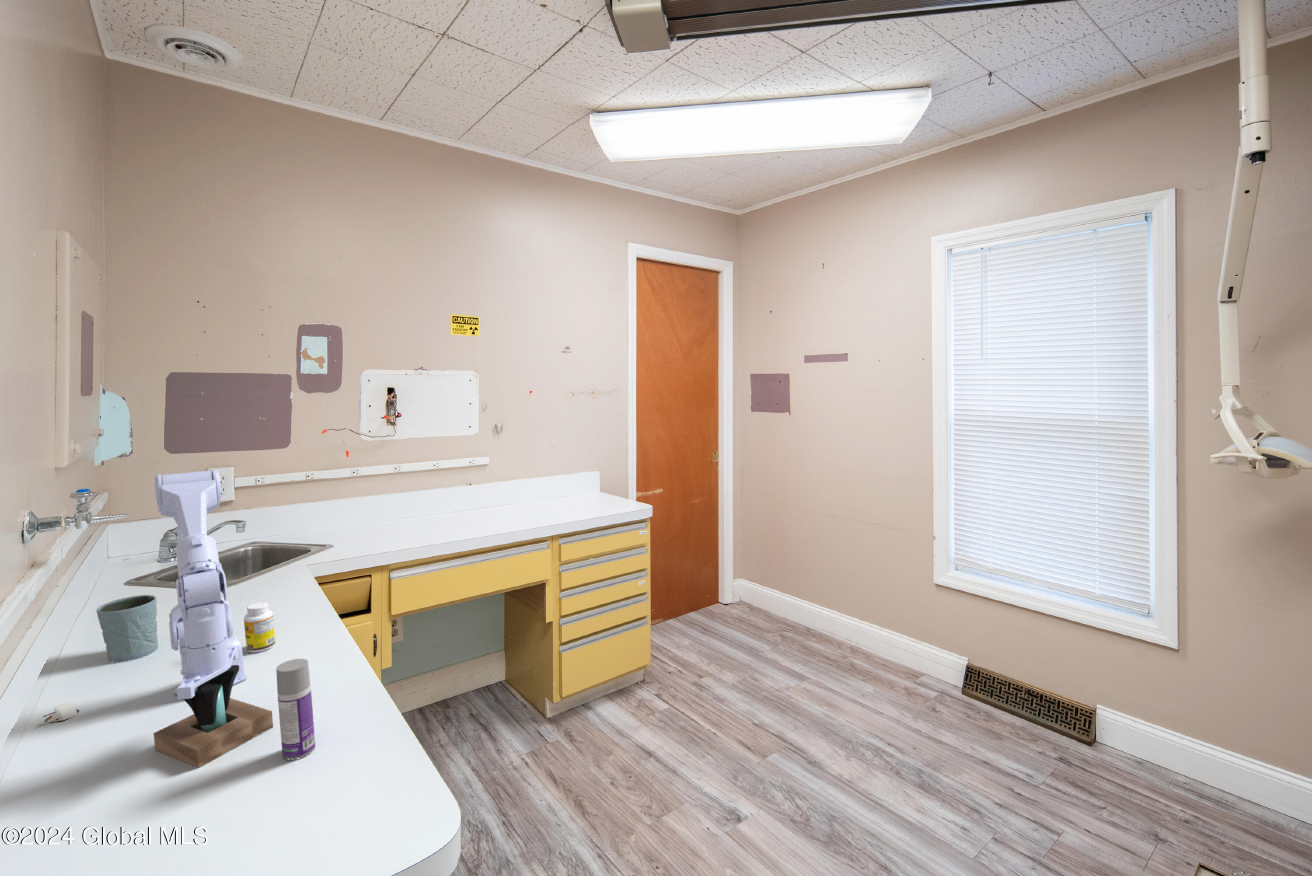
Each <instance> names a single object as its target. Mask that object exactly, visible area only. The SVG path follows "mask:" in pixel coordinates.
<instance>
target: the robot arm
mask: <svg viewBox="0 0 1312 876" xmlns="http://www.w3.org/2000/svg"><path fill="white" fill-rule="evenodd" d="M220 476H221V475H220V473H219V471H217V470H216V469H211V470H203V471H202V470H201V471H190V472H181V473H179V472H178V473H170V474H169V473H168V474H167V473H166V474H161V473H159V474H156V476H155V477H154V479H153V481H154V489H155V490H154V491H155V499H156V506H157V509H158V512H159V513H160V516H164V517H169V518H172V519H173V520H174V522H175V523H176V525H177V529H178V537H179V542H178V543H177V545H176V546H175V555H176V557H175V558H176V565H177V574H178V579H176V581H175V585H176V594H177V604H176V605H175V606H173V608H172V609H171V610H170V612H169V614H168V617H169V621H168V625H169V626H168V627H169V637H170V646H171V647H170V648H171V649H172V650H174V651H175V652H176V651H179V655H180V659H181V660H180V661H181V670H180V675H182V681H181V683H180V685H179V686H178V687H176V689H175V690H173V694H175V695H177V696H176V697H177V700H183V701H184V702H186V704H187V705H188V707H189V708H190V709H191V711H192V713H193V714H194V715H195V717H196V719H197V721H198V723H199V725H200V726H204V725H212V724H214V723H215V720H216V709H217V698H218V694H219V691H220V688H221V686H222V688H223V697H224V706H225V711H226V710H227V709H228V706H229V701H230V698H231V695H232V691H233V690H232V689H233V687H234V686H233V685H236V684H238V683H241V682H242V681H245V680H246V679H248V677H247V675H245V665H244V655H243V653H244V652H243V647H242V644H241V642H240V640H239V639H238V638H237V637H235V635H234V627H233V626H234V625H233V618H232V617H233V616H232V610H231V606H230V602H229V601H228V600H227V598H228V597H227V596H228V589H227V588H228V587H227V578H226V575H225V571H224V569H223V567H222V563H221V562H220V559H219V558H220V557H219V552H218V545H217V544H218V543H217V541H216V539H215V538H214V537H212V536H210V535H208V533H207V531H208V530H207V529H208V527H207V524H208V523H207V521H208V519H207V516H208V514H209V513H210V512H214V511H215V510H217V509H219V505H220V504H221V499H222V486H221V477H220ZM221 594H222V595H223V596H221ZM214 684H215V685H214Z"/></svg>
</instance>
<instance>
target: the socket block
mask: <svg viewBox="0 0 1312 876" xmlns="http://www.w3.org/2000/svg"><path fill="white" fill-rule="evenodd" d="M225 714H226V724H225V725H223V726H221V727H219V728H217V729H215V730H213V731H211V732H209V733H206V732H203V731H201V726H200V725H199V723H198V721H197V719H196V717H195V715H194V713H193V714H191V715H189V716H187V717H185V718H182V719H181V720H178V721H176V722H175V723H172V724H170V725H168V726H165V727H164V728H161V729H159V730H158V731H155V732H153V741H154V742H153V743H154V750H155V751H156V752H159V753H162V754H164V755H166V756H169V757H172V758H174V759H177V760H179V761H182V762H184V763H186V764H189V765H192V766H193V767H196V768H201V767H203V766H205V765H207V764H209V763H211V762H212V761H214V760H216V759H218V758H219V757H221V755H222V754H223V755H225V754H227V753H229V752H230V750H231V749H232V750H234V749H235V748H234V747H236V748H238V747H239V746H238V745H240V744H242V743H243V744H245V743H247V742H248V740H249V741H251V740H253V739H254V738H256V737H258V736H259V735H258V734H260V733H262V732H264V731H265V732H267V731H269V730H270V729H269V728H271V729H272V727H273V728H274V722H273V721H274V720H273V711H272V710H270V709H266V708H263V707H260V706H257V705H254V704H250V703H248V702H245V701H242V700H239V699H235V698H232V697H230V701H229V706H228V709H227V710H226V711H225ZM268 729H269V730H268ZM266 730H267V731H266ZM265 732H264V733H265ZM262 734H263V733H262ZM257 735H258V736H257ZM260 735H261V734H260ZM253 737H254V738H253ZM252 738H253V739H252ZM250 739H251V740H250ZM246 741H247V742H246ZM244 742H245V743H244ZM243 744H242V745H243ZM237 746H238V747H237ZM240 746H241V745H240ZM233 748H234V749H233ZM232 750H231V751H232ZM228 751H229V752H228ZM226 752H227V753H226ZM223 755H222V756H223Z"/></svg>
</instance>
